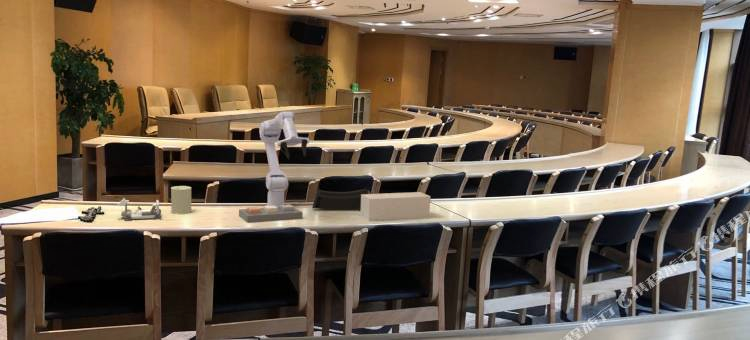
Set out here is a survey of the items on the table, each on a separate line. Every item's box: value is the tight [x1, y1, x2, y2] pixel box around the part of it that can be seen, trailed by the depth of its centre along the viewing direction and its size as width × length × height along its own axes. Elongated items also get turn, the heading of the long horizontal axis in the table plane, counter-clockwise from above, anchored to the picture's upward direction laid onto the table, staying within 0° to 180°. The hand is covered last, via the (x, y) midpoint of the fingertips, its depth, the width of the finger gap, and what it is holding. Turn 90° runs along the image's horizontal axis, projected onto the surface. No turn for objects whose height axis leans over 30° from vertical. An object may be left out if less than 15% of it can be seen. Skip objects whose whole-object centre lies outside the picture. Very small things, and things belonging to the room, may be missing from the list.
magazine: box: [311, 188, 371, 212], centre depth 302 cm, size 17×3×30 cm
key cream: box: [263, 205, 278, 213], centre depth 281 cm, size 5×5×3 cm
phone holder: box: [117, 197, 162, 222], centre depth 270 cm, size 18×10×12 cm
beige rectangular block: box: [359, 191, 431, 222], centre depth 293 cm, size 32×11×11 cm, turn 113°
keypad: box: [238, 206, 303, 223], centre depth 281 cm, size 14×26×3 cm, turn 118°
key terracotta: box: [246, 206, 261, 214], centre depth 277 cm, size 5×5×3 cm
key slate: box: [280, 204, 295, 211], centre depth 285 cm, size 5×5×3 cm
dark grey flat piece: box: [77, 205, 105, 224], centre depth 270 cm, size 28×2×10 cm
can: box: [170, 185, 192, 215], centre depth 284 cm, size 9×9×12 cm
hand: (297, 156), depth 273 cm, fingers open, 7 cm apart
